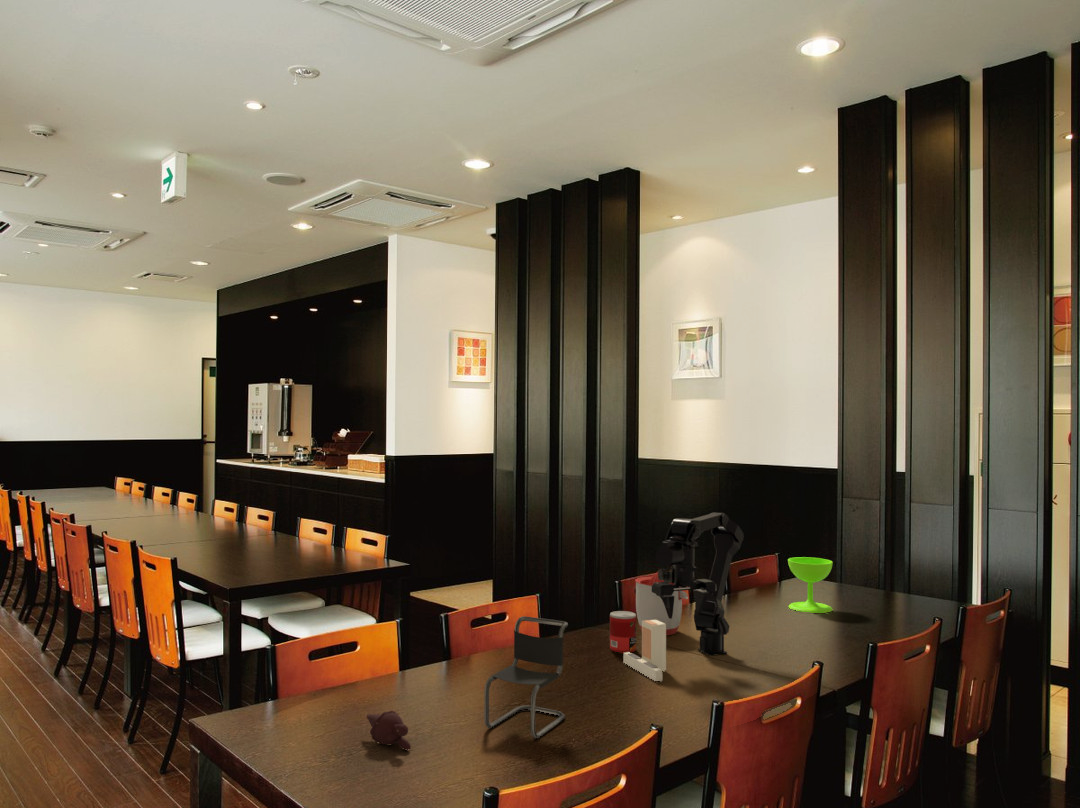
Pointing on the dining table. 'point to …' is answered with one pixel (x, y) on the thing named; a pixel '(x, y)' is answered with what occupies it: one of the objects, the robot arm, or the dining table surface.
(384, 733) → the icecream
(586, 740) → the dining table surface
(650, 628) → the carton
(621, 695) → the dining table surface
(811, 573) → the wineglass
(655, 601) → the citrus juicer
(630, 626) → the canned food
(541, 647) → the chair
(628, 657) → the rail
